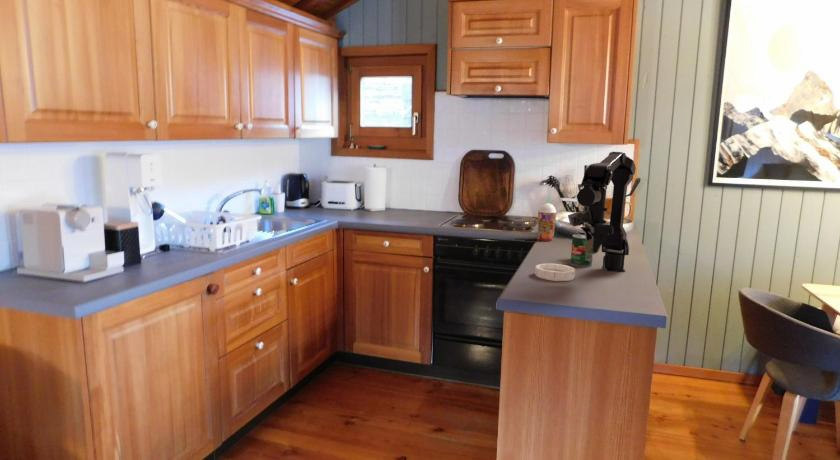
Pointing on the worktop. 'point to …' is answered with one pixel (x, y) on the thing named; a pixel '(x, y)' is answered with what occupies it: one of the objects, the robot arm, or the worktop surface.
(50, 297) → the worktop surface
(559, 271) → the ceramic dish
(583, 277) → the worktop surface
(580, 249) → the canned tomato
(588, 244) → the lime
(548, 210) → the smoothie
